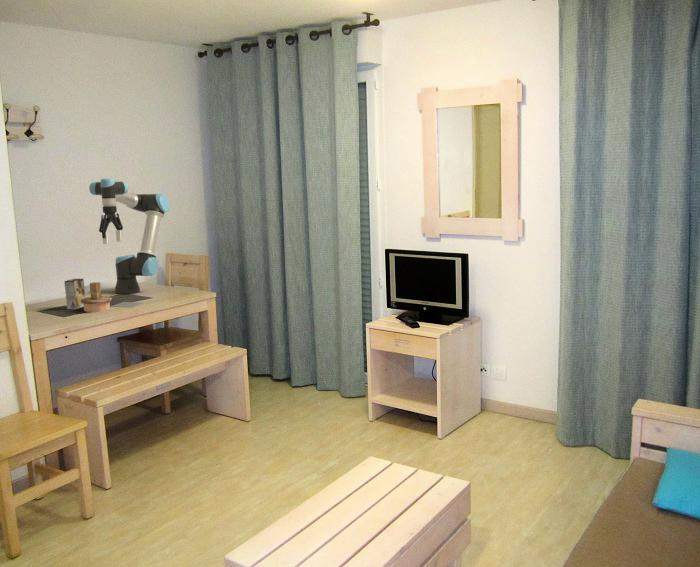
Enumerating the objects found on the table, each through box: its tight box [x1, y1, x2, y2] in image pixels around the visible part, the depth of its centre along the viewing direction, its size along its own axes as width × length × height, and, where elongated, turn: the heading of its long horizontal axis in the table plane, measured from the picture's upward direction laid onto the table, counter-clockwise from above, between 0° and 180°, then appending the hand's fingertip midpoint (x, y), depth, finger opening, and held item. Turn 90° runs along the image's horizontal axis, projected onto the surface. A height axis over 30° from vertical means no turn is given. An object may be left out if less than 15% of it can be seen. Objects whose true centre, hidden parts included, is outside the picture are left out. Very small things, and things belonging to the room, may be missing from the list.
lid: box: [81, 281, 113, 304], centre depth 378 cm, size 16×16×10 cm
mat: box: [110, 301, 144, 309], centre depth 391 cm, size 14×14×1 cm
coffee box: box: [64, 278, 86, 310], centre depth 386 cm, size 9×6×16 cm
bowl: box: [83, 301, 111, 313], centre depth 380 cm, size 13×13×5 cm
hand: (112, 242), depth 398 cm, fingers open, 13 cm apart
